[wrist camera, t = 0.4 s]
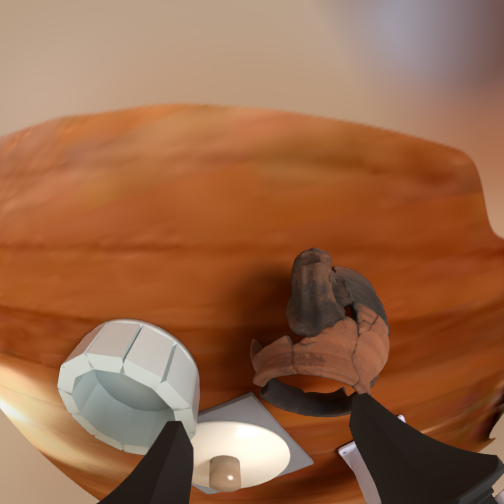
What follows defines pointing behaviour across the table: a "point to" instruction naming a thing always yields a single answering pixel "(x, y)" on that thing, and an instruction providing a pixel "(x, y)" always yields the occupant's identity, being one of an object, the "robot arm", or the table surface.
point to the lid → (236, 454)
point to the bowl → (130, 384)
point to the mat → (255, 413)
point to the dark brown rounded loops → (324, 338)
